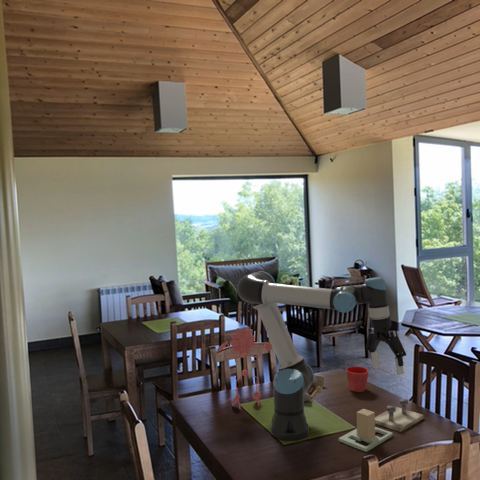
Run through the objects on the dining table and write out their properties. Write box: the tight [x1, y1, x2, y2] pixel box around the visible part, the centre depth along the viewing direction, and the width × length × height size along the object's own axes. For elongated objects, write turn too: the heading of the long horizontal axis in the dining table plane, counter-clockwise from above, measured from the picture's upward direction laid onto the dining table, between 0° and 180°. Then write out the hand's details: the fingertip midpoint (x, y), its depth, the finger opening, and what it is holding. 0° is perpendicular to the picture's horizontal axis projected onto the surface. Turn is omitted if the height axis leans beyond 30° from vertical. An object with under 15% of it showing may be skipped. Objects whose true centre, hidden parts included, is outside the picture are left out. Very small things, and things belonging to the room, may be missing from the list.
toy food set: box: [272, 373, 325, 403], centre depth 237 cm, size 25×18×8 cm
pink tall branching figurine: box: [215, 327, 273, 411], centre depth 225 cm, size 15×26×35 cm, turn 110°
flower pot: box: [345, 365, 369, 393], centre depth 239 cm, size 11×11×10 cm
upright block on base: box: [338, 408, 394, 452], centre depth 186 cm, size 12×18×10 cm, turn 132°
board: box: [375, 398, 425, 433], centre depth 202 cm, size 13×18×7 cm
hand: (388, 371), depth 192 cm, fingers open, 13 cm apart
